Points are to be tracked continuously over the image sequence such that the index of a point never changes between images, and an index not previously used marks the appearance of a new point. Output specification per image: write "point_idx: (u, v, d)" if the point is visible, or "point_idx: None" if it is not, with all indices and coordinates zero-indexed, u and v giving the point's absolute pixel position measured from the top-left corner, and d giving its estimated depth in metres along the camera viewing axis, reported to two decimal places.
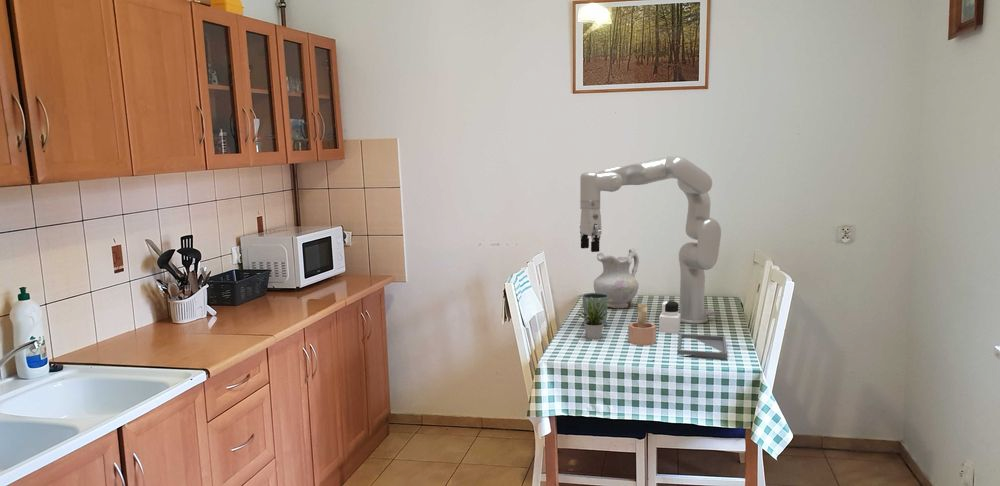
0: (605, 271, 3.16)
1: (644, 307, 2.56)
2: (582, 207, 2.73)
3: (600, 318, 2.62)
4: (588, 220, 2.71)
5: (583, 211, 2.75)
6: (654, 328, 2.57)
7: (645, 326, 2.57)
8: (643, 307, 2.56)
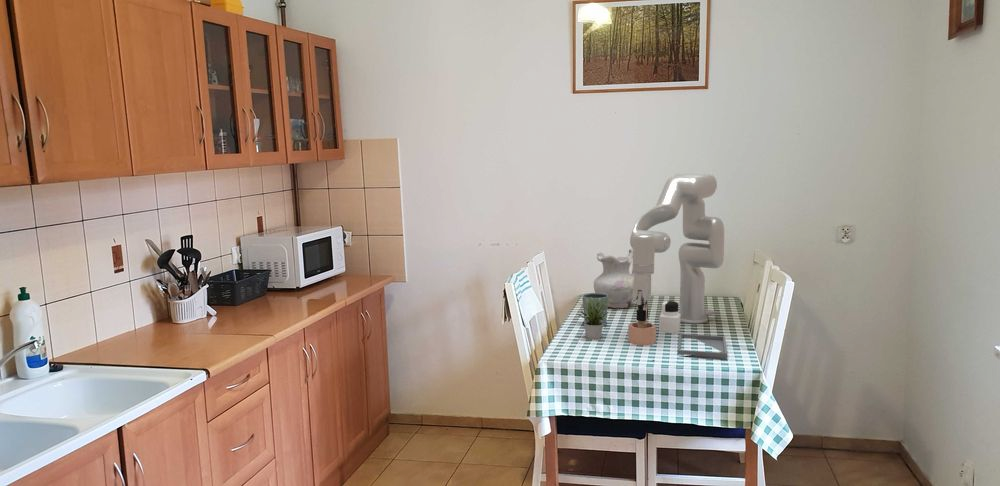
0: (605, 271, 3.16)
1: None
2: None
3: (600, 318, 2.62)
4: None
5: (649, 276, 2.55)
6: (654, 328, 2.57)
7: (645, 326, 2.57)
8: None
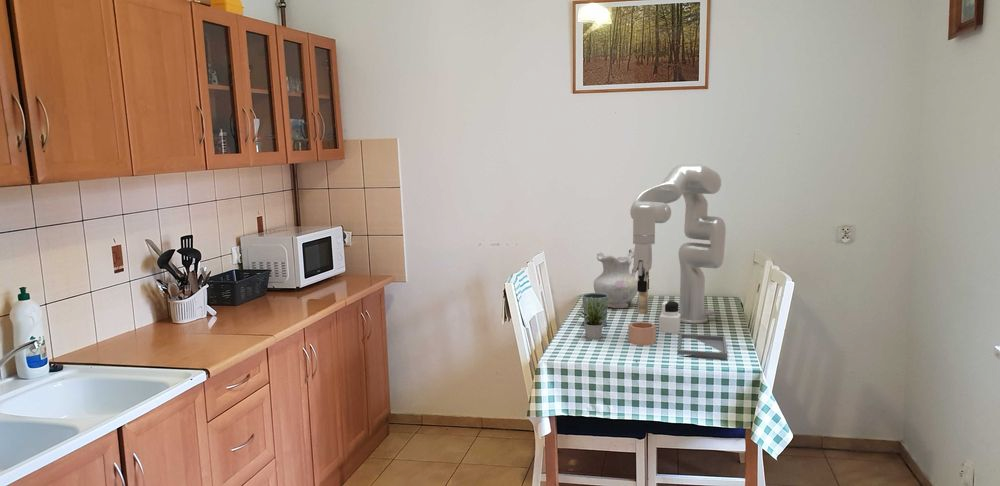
0: (605, 271, 3.16)
1: None
2: (654, 241, 2.54)
3: (600, 318, 2.62)
4: None
5: (650, 246, 2.53)
6: (654, 328, 2.57)
7: (646, 297, 2.56)
8: None
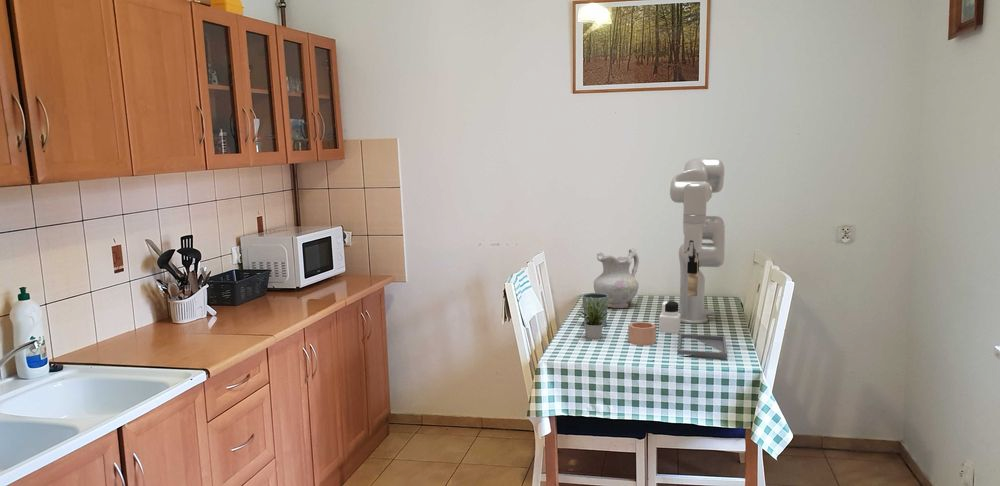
0: (605, 271, 3.16)
1: None
2: (705, 221, 2.47)
3: (600, 318, 2.62)
4: None
5: (701, 226, 2.46)
6: (654, 328, 2.57)
7: (696, 279, 2.49)
8: None
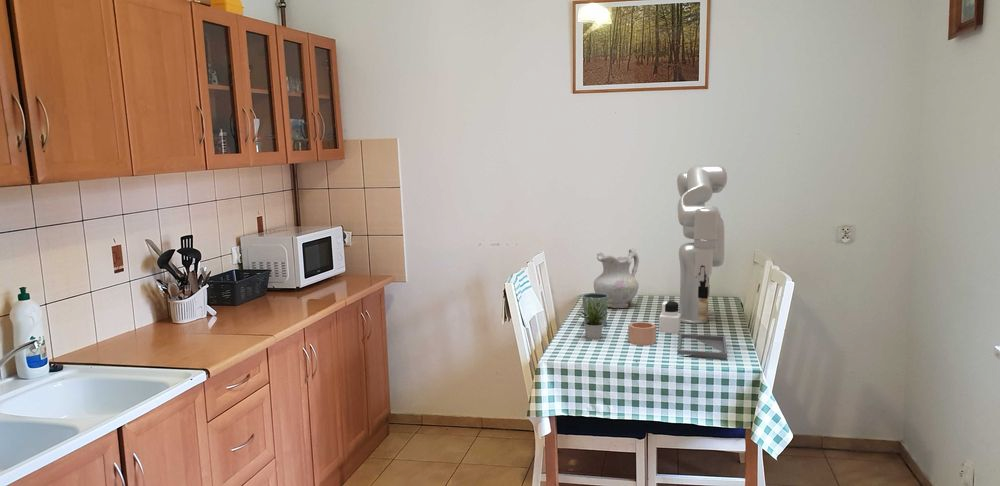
0: (605, 271, 3.16)
1: None
2: None
3: (600, 318, 2.62)
4: None
5: (712, 251, 2.46)
6: (654, 328, 2.57)
7: (707, 304, 2.49)
8: None
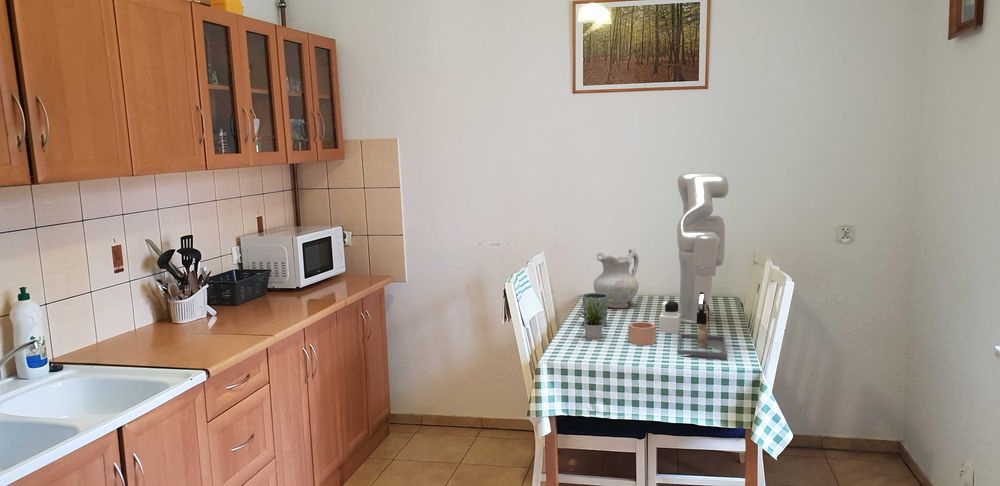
0: (605, 271, 3.16)
1: None
2: None
3: (600, 318, 2.62)
4: None
5: (711, 278, 2.48)
6: (654, 328, 2.57)
7: (706, 331, 2.50)
8: None
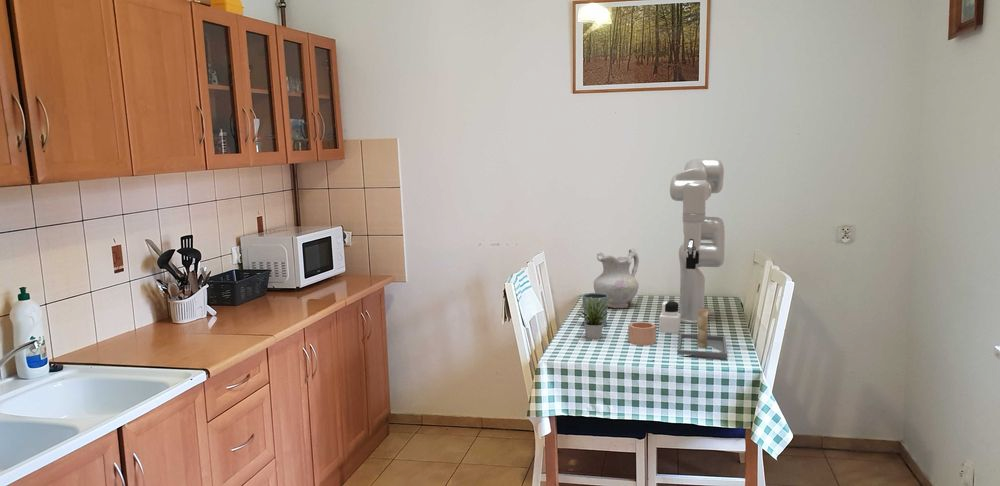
0: (605, 271, 3.16)
1: (705, 312, 2.49)
2: None
3: (600, 318, 2.62)
4: None
5: (700, 225, 2.51)
6: (654, 328, 2.57)
7: (706, 331, 2.50)
8: (704, 312, 2.49)
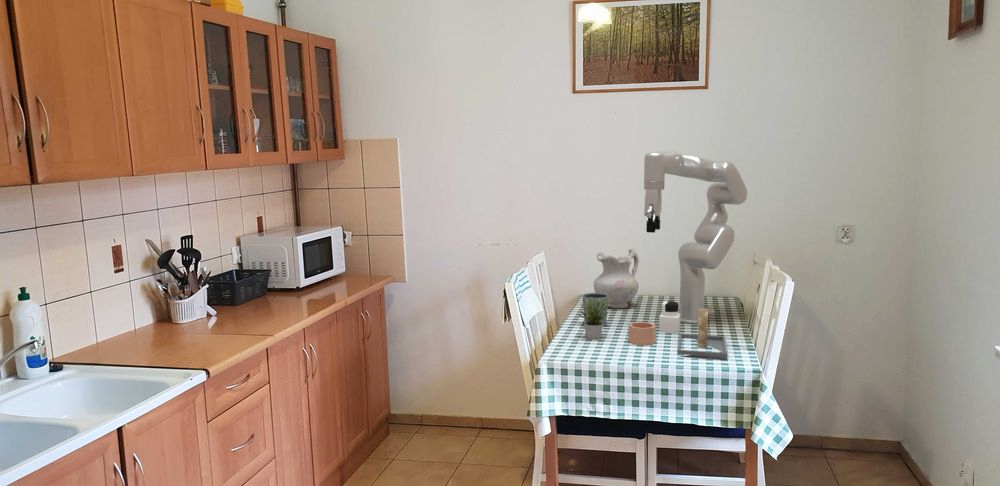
0: (605, 271, 3.16)
1: (705, 312, 2.49)
2: None
3: (600, 318, 2.62)
4: (661, 199, 2.75)
5: (660, 192, 2.71)
6: (654, 328, 2.57)
7: (706, 331, 2.50)
8: (704, 312, 2.49)
